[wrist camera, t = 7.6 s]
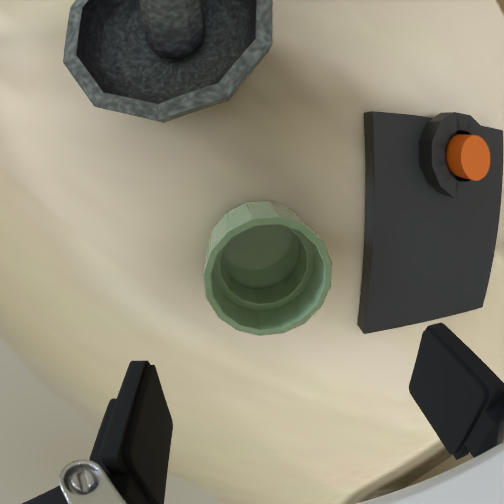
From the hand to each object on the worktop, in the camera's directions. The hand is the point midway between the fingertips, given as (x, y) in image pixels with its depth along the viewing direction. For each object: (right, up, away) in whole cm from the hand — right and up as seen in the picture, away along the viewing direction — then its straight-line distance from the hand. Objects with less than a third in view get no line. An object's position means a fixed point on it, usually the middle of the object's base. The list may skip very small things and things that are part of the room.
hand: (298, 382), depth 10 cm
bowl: (-1, +4, +12) cm, 13 cm away
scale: (+13, +7, +12) cm, 19 cm away
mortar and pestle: (-6, +17, +7) cm, 20 cm away
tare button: (+13, +11, +8) cm, 18 cm away
